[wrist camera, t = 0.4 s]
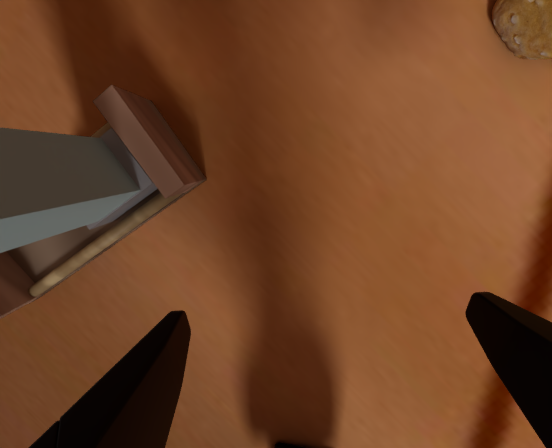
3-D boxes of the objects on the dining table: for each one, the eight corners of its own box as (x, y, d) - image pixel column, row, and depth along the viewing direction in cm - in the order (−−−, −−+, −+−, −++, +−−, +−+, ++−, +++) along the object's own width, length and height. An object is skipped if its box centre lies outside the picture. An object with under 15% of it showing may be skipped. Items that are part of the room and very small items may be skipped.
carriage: (134, 131, 19) (-199, 75, 6) (169, 180, 20) (-63, 220, 7) (77, 177, 20) (-309, 211, 7) (112, 221, 21) (-181, 324, 8)
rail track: (151, 100, 20) (111, 84, 15) (206, 179, 21) (184, 184, 17) (-17, 237, 23) (-87, 255, 19) (39, 297, 25) (-16, 327, 20)
